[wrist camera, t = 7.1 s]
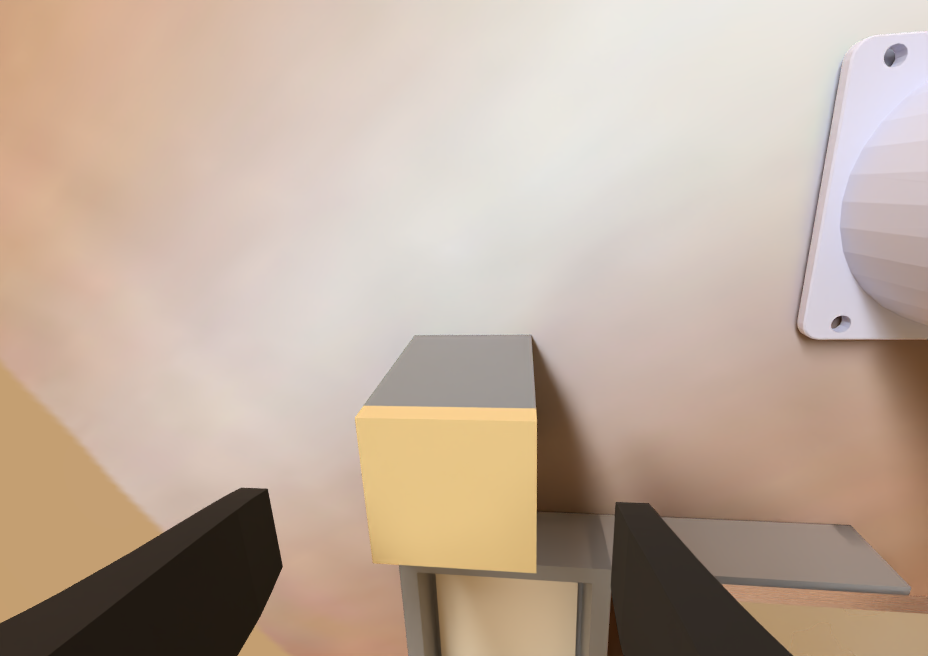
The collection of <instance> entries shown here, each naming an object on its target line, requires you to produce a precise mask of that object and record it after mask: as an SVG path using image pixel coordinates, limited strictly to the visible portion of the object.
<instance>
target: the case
mask: <svg viewBox="0 0 928 656" xmlns="http://www.w3.org/2000/svg"><path fill="white" fill-rule="evenodd" d="M661 518H662V519H663V520H664V521H665V522H666V523H667V525H668V526H669V527H670V528H671V529H672V530H673V531H674V533H675V534H676V535H677V536H678V537H679V538H680V539H681V541H682V542H683V543H684V544H685V545H686V546H687V547H688V548H689V550H690V551H691V552H692V553H693V554H694V555H695V556H696V557H697V559H698V560H699V561H700V562H701V563H702V564H703V565H704V566H705V567H706V568H707V569H708V571H709V572H710V573H711V574H712V575H713V576H714V577H715V578H716V579H717V580H718V581H719V582H720V583H721V584H729V585H745V586H762V587H778V588H794V589H810V590H827V591H843V592H859V593H876V594H892V595H908V596H909V593H910V590H911V587H910V586H909V585H908V584H907V583H906V582H905V581H904V580H903V579H902V578H901V577H900V576H899V575H898V573H897V572H896V571H895V570H894V569H893V568H892V567H891V566H890V565H889V564H888V563H887V562H886V561H885V560H884V559H883V558H882V557H881V556H880V555H879V554H878V553H877V552H876V551H875V550H874V549H873V548H872V547H871V546H870V545H869V544H868V543H867V542H866V541H865V540H864V539H863V538H862V537H861V536H860V535H859V534H858V533H857V532H856V530H855V529H854V528H853V527H852V526H851V525H829V524H806V523H784V522H761V521H739V520H716V519H694V518H672V517H661ZM614 522H615V515H604V514H582V513H559V512H537V541H536V573H523V572H507V571H491V570H474V569H458V568H442V567H426V566H410V565H399V571H400V580H401V590H402V599H403V609H404V619H405V628H406V638H407V648H408V656H607V649H608V633H609V618H610V602H611V570H612V554H613V538H614Z"/></svg>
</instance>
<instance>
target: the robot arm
mask: <svg viewBox="0 0 928 656" xmlns="http://www.w3.org/2000/svg"><path fill="white" fill-rule="evenodd" d="M888 48H889V49H892V50H893V51H894V53H895V60H894V63H893V65H892V66H891V67H889V66H887V65H886V64H885V63H884V55H885V52H886V50H887V49H888ZM838 316H842V321H841V323H840V325H839V326H837V327H836V328H833V329H831V323H832V321H833V320H834V319H835V318H836V317H838ZM797 325H798V329H799V330H800V332H801V333H803V334H804V335H806V336H808V337H809V338H811V339H817V340H928V31H919V32H907V33H894V34H882V35H874V36H871V37H867V38H865V39H863V40H860V41H858V42H857V43H856V44H854V45H853V46H851V47H850V49H849V50H848V51H847V53H846V54H845V57H844V59H843V62H842V68H841V73H840V79H839V85H838V91H837V96H836V102H835V108H834V113H833V119H832V125H831V131H830V136H829V142H828V148H827V154H826V159H825V165H824V171H823V177H822V182H821V188H820V194H819V200H818V205H817V211H816V217H815V223H814V228H813V234H812V240H811V245H810V251H809V257H808V263H807V268H806V274H805V280H804V286H803V291H802V297H801V303H800V309H799V314H798V320H797ZM282 567H283V566H282V561H281V555H280V550H279V545H278V540H277V535H276V530H275V524H274V519H273V514H272V509H271V504H270V499H269V493H268V489H259V488H240V489H238V490H236V491H234V492H232V493H230V494H228V495H226V496H225V497H223V498H221V499H219V500H218V501H216V502H214V503H212V504H211V505H209V506H207V507H206V508H204V509H202V510H200V511H199V512H197V513H195V514H194V515H192V516H190V517H189V518H187V519H186V520H184V521H182V522H181V523H179V524H177V525H176V526H174V527H172V528H171V529H169V530H167V531H166V532H164V533H162V534H161V535H159V536H157V537H156V538H154V539H152V540H151V541H149V542H147V543H146V544H144V545H142V546H141V547H139V548H138V549H136V550H134V551H132V552H131V553H129V554H127V555H126V556H124V557H122V558H120V559H118V560H117V561H115V562H113V563H111V564H110V565H108V566H106V567H104V568H103V569H101V570H99V571H97V572H95V573H94V574H92V575H90V576H89V577H87V578H85V579H83V580H81V581H80V582H78V583H76V584H74V585H72V586H71V587H69V588H67V589H66V590H64V591H62V592H60V593H58V594H57V595H54V596H52V597H51V598H49V599H47V600H45V601H43V602H41V603H39V604H37V605H36V606H34V607H32V608H30V609H28V610H26V611H24V612H22V613H20V614H18V615H16V616H14V617H12V618H10V619H8V620H6V621H4V622H2V623H0V656H237V655H238V654H239V652H240V650H241V648H242V647H243V645H244V644H245V642H246V640H247V638H248V637H249V635H250V633H251V632H252V630H253V628H254V627H255V625H256V623H257V621H258V620H259V618H260V616H261V614H262V612H263V610H264V607H265V605H266V603H267V601H268V599H269V597H270V595H271V592H272V590H273V588H274V585H275V583H276V581H277V579H278V576H279V574H280V572H281V569H282ZM611 593H612V599H613V605H614V611H615V617H616V623H617V628H618V634H619V640H620V645H621V649H622V652H623V656H793V655H792V654H791V653H790V652H789V651H788V650H787V649H786V648H785V647H784V646H783V645H782V644H781V643H779V642H778V641H777V640H776V639H775V638H774V637H773V636H772V635H771V634H770V633H769V632H768V631H767V630H766V629H765V628H764V627H763V626H762V625H761V624H760V623H759V622H758V621H757V620H756V619H755V618H754V617H753V616H752V615H751V614H750V613H749V612H748V611H747V610H746V609H745V608H744V607H743V606H742V605H741V604H740V603H739V602H738V601H737V600H736V599H735V598H734V597H733V596H732V595H731V594H730V593H729V592H728V591H727V589H726V588H725V587H724V586H723V585H722V584H721V583H720V582H719V581H718V580H717V579H716V578H715V577H714V576H713V575H712V574H711V573H710V572H709V571H708V569H707V568H706V567H705V566H704V565H703V564H702V563H701V562H700V561H699V560H698V559H697V557H696V556H695V555H694V554H693V553H692V552H691V551H690V550H689V548H688V547H687V546H686V545H685V544H684V543H683V542H682V541H681V539H680V538H679V537H678V536H677V535H676V534H675V533H674V531H673V530H672V529H671V528H670V527H669V526H668V525H667V523H666V522H665V521H664V520H663V519H662V518H661V517H660V515H659V514H658V513H657V512H656V511H655V510H654V509H653V508H652V507H651V505H650V504H649V503H624V502H616V506H615V522H614V538H613V554H612V570H611Z"/></svg>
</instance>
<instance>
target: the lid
mask: <svg viewBox="0 0 928 656" xmlns="http://www.w3.org/2000/svg"><path fill="white" fill-rule="evenodd" d="M722 585H723V586H724V587H725V588H726V589H727V591H728V592H729V593H730V594H731V595H732V596H733V597H734V598H735V599H736V600H737V601H738V602H739V603H740V604H741V605H742V606H743V607H744V608H745V609H746V610H747V611H748V612H749V613H750V614H751V615H752V616H753V617H754V618H755V619H756V620H757V621H758V622H759V623H760V624H761V625H762V626H763V627H764V628H765V629H766V630H767V631H768V632H769V633H770V634H771V635H772V636H773V637H774V638H775V639H776V640H777V641H778V642H779V643H781V644H782V645H783V646H784V647H785V648H786V649H787V650H788V651H789V652H790V653H791V654H792V655H793V656H928V597H924V596H908V595H892V594H876V593H859V592H843V591H827V590H810V589H794V588H778V587H762V586H745V585H729V584H722Z"/></svg>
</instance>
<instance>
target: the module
mask: <svg viewBox="0 0 928 656" xmlns="http://www.w3.org/2000/svg"><path fill="white" fill-rule="evenodd" d="M355 423H356V431H357V439H358V447H359V455H360V464H361V472H362V480H363V488H364V496H365V504H366V512H367V520H368V528H369V536H370V544H371V552H372V560H373V563H377V564H393V565H410V566H426V567H442V568H458V569H474V570H491V571H507V572H523V573H536V541H537V415H536V400H535V384H534V369H533V354H532V339H531V335H415V336H414V337H413V338H412V340H411V341H410V343H409V344H408V345H407V347H406V348H405V349H404V351H403V352H402V354H401V355H400V356H399V358H398V359H397V361H396V362H395V363H394V365H393V366H392V367H391V369H390V370H389V372H388V373H387V374H386V376H385V377H384V378H383V380H382V381H381V383H380V384H379V385H378V387H377V388H376V389H375V391H374V392H373V394H372V395H371V396H370V398H369V399H368V400H367V402H366V403H365V405H364V406H363V407H362V409H361V410H360V411H359V413H358V414H357V416H356V417H355Z"/></svg>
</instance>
